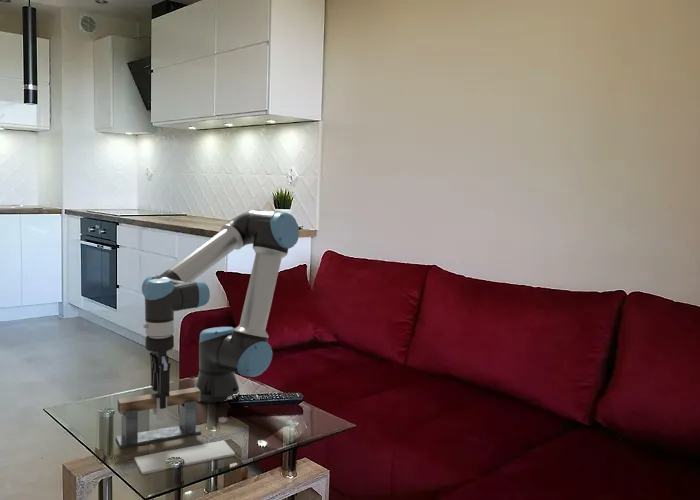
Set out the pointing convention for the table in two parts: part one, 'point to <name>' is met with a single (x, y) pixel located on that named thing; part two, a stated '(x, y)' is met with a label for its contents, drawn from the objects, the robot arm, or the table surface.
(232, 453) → the mat
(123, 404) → the rail
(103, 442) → the table surface
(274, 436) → the table surface
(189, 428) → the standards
